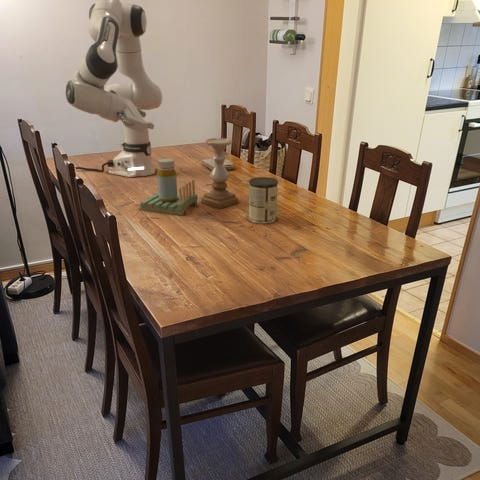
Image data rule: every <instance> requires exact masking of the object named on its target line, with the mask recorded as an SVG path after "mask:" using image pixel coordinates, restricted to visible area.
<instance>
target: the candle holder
mask: <svg viewBox="0 0 480 480" xmlns="http://www.w3.org/2000/svg"><path fill="white" fill-rule="evenodd" d="M205 144H206V145H208V146H211V147H212V149H213V152H214V154H213V155H212V159H213V160H214V162H215V166H214V168H213V170H211V171H210V174H209V178H210V180H211V181H212V183H211V188H212V189H211V190H210V191H209V192H207V193H204V194H203V196H202V197H201V198H200V203H201V204H204V205H207V206H210V207H214V208H216V209H224V208H226V207H229V206H233V205H235V204H238V203H239V197H237V196H236V194H235V193H232V192H230V191H229V190H227V188H228V184H227V181H228V180H229V177H230V176H229V172H228V170H226V169H225V167H224V161H225V159H227V157H226V155H225V154H224V153H225V149H226V148H227V146H230V145H232V144H233V140H232V139H230V138H226V137H225V138H224V137H212V138H208V139H206V140H205Z"/></svg>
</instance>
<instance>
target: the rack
mask: <svg viewBox="0 0 480 480" xmlns="http://www.w3.org/2000/svg"><path fill="white" fill-rule="evenodd" d="M189 206H190V207H197V206H198V194H197V193H196V187H195V179H191V180H189V181H188V182H185V184H182V185H181V186H179V187H178V194H177V199H176V201H173V202H163V201H161V200H160V199H159V192H156V193H154V194H153V195H151V196H149V197H148V198H146V199H144V200H142V201H140V204H139V207H140V208H139V209H140V210H141V211H149V212H155V213H161V214H170V215H177V216H184V215H185V209H186V208H188V207H189Z"/></svg>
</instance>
